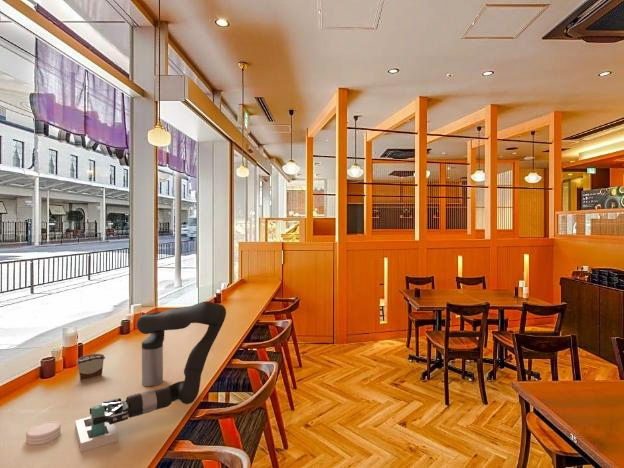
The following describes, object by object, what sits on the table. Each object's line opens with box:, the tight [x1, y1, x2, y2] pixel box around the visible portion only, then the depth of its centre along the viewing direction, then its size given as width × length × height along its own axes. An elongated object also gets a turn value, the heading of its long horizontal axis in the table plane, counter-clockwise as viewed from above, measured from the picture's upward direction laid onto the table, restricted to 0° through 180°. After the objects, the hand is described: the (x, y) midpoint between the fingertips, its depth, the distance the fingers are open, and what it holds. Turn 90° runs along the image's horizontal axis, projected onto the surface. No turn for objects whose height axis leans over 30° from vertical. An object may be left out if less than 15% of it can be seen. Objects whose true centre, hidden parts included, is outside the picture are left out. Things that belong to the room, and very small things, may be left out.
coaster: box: [25, 420, 62, 446], centre depth 134 cm, size 10×10×4 cm
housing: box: [74, 412, 119, 453], centre depth 136 cm, size 18×11×3 cm, turn 37°
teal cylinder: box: [90, 404, 106, 438], centre depth 132 cm, size 4×4×11 cm
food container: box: [76, 353, 106, 382], centre depth 188 cm, size 12×6×10 cm, turn 134°
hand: (91, 416), depth 131 cm, fingers open, 8 cm apart
